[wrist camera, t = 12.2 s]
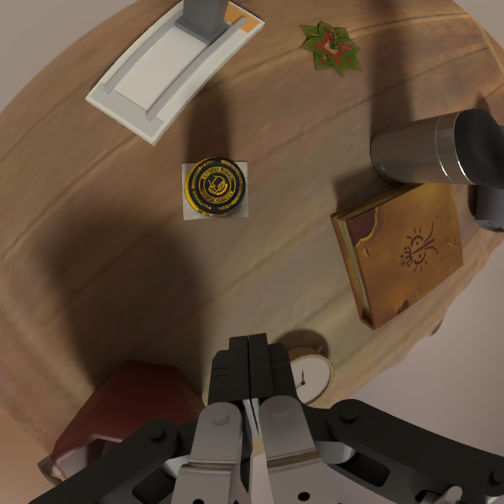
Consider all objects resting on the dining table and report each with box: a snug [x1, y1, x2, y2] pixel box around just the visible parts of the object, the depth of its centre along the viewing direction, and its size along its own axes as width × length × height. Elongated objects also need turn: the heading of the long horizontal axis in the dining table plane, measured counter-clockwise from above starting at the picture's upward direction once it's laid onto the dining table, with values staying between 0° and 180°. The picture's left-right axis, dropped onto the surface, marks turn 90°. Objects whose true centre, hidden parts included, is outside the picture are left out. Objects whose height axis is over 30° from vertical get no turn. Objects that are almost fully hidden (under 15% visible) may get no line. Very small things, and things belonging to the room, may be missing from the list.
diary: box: [331, 183, 463, 330], centre depth 43 cm, size 23×19×6 cm
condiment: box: [182, 157, 249, 220], centre depth 31 cm, size 7×8×12 cm
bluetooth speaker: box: [475, 125, 504, 233], centre depth 43 cm, size 23×9×10 cm, turn 161°
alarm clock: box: [288, 345, 335, 406], centre depth 43 cm, size 11×5×15 cm
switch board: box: [85, 0, 265, 146], centre depth 30 cm, size 24×12×3 cm, turn 143°
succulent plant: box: [300, 20, 363, 78], centre depth 34 cm, size 12×12×5 cm
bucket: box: [38, 360, 206, 504], centre depth 28 cm, size 24×22×25 cm
